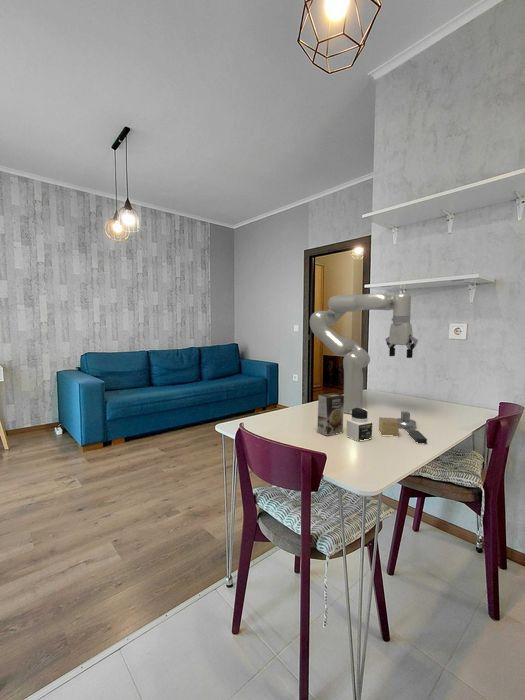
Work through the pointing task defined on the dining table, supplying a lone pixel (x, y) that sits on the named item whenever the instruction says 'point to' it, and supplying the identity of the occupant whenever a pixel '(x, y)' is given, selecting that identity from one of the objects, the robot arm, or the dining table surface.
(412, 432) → the ratchet
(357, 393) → the robot arm
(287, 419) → the dining table surface
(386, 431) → the brass-coloured cube
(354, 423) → the medicine bottle
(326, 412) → the coffee box
